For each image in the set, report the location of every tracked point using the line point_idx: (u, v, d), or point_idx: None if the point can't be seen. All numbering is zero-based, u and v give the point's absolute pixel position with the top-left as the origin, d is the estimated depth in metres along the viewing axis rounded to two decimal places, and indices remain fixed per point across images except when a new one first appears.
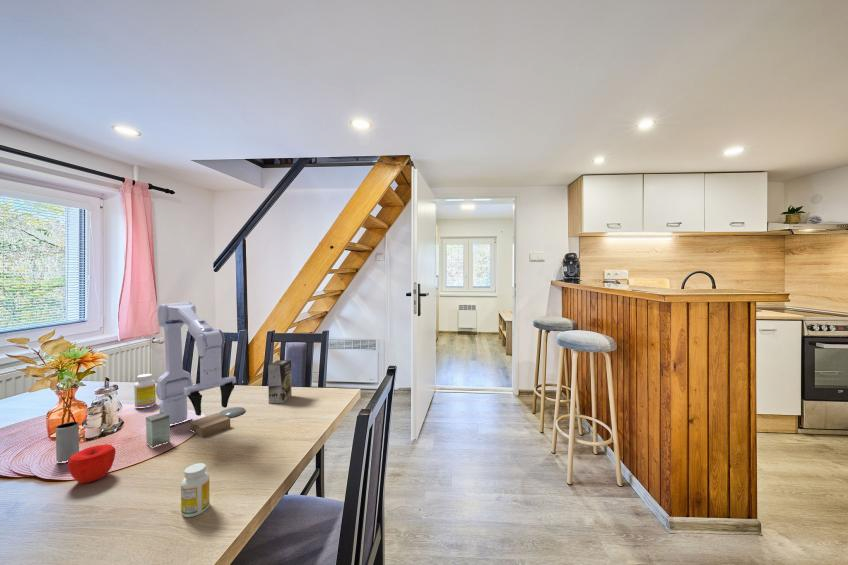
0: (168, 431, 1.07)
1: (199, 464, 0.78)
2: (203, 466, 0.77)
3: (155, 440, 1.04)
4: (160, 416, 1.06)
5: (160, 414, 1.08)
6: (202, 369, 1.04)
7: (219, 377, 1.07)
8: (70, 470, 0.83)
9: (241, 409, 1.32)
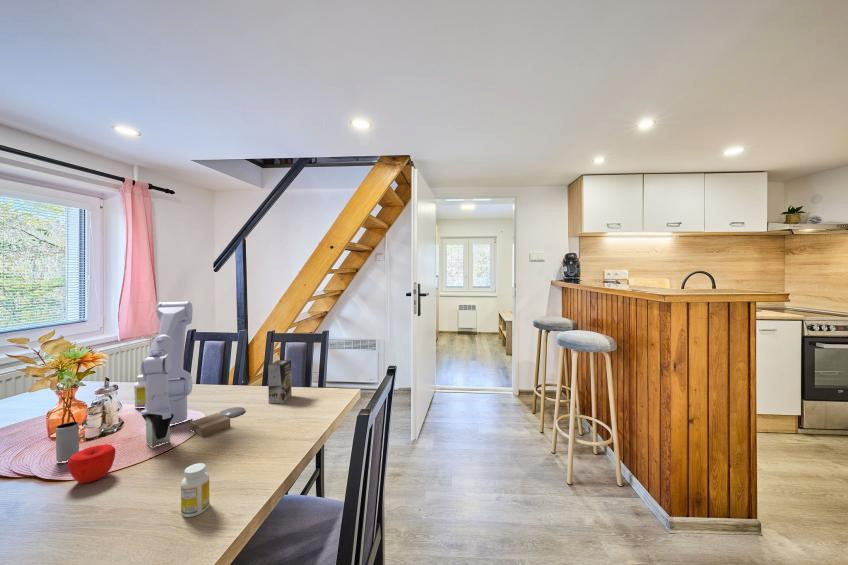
0: (168, 431, 1.07)
1: (199, 464, 0.78)
2: (203, 466, 0.77)
3: (155, 440, 1.04)
4: None
5: None
6: (145, 394, 1.05)
7: (149, 405, 1.04)
8: (70, 471, 0.83)
9: (241, 409, 1.32)
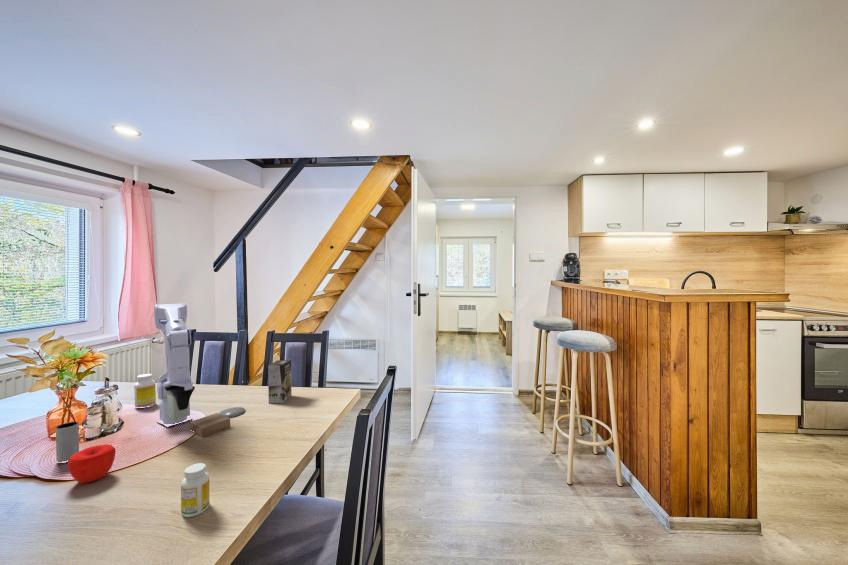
0: (188, 404, 1.11)
1: (199, 464, 0.78)
2: (203, 466, 0.77)
3: (176, 413, 1.08)
4: None
5: None
6: (168, 367, 1.08)
7: (172, 377, 1.08)
8: (70, 470, 0.83)
9: (241, 409, 1.32)
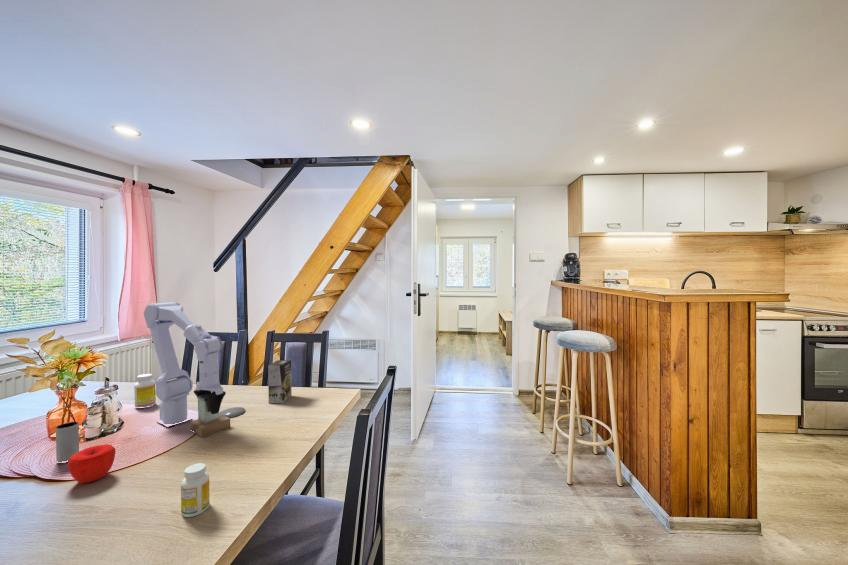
0: None
1: (199, 464, 0.78)
2: (203, 466, 0.77)
3: (206, 417, 1.14)
4: None
5: None
6: (203, 373, 1.14)
7: (203, 382, 1.14)
8: (70, 471, 0.83)
9: (241, 409, 1.32)
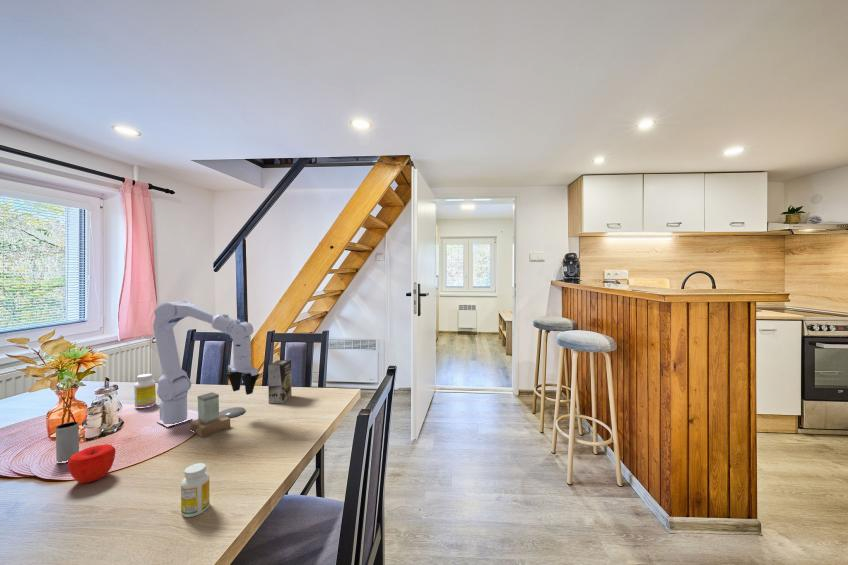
0: (217, 409, 1.17)
1: (199, 464, 0.78)
2: (203, 466, 0.77)
3: (206, 417, 1.14)
4: (210, 395, 1.16)
5: (210, 394, 1.18)
6: (240, 355, 1.20)
7: (238, 365, 1.20)
8: (70, 470, 0.83)
9: (241, 409, 1.32)
